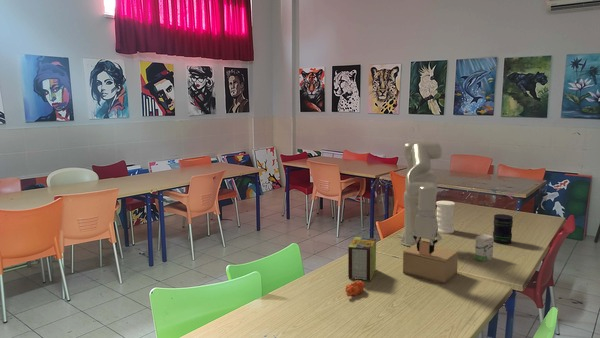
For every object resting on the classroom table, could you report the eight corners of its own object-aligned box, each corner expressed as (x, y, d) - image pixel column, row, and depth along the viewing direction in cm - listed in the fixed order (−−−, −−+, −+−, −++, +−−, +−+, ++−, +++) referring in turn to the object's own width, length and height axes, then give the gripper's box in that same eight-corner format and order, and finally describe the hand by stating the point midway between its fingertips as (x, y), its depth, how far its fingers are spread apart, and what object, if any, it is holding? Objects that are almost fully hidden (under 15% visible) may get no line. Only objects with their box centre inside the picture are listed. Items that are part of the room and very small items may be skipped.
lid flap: (403, 252, 207) (403, 238, 206) (417, 244, 220) (418, 230, 219) (445, 262, 195) (445, 247, 194) (458, 252, 207) (458, 238, 206)
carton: (402, 273, 209) (403, 253, 207) (417, 263, 221) (417, 244, 220) (444, 284, 196) (445, 262, 195) (457, 272, 209) (458, 252, 207)
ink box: (482, 261, 222) (484, 239, 221) (474, 258, 227) (475, 236, 225) (493, 258, 227) (494, 236, 225) (484, 255, 231) (485, 233, 229)
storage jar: (492, 243, 250) (494, 217, 248) (492, 238, 259) (493, 213, 257) (512, 245, 247) (513, 219, 244) (510, 240, 256) (512, 215, 253)
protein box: (375, 269, 214) (376, 238, 212) (370, 281, 200) (370, 248, 198) (354, 266, 218) (355, 236, 215) (347, 278, 203) (347, 246, 201)
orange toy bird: (351, 286, 181) (366, 277, 190) (336, 287, 186) (352, 278, 195) (354, 298, 181) (369, 289, 190) (340, 299, 186) (355, 290, 195)
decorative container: (456, 229, 277) (457, 201, 274) (451, 234, 267) (452, 205, 264) (437, 227, 283) (438, 199, 280) (432, 231, 273) (433, 203, 270)
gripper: (405, 211, 202) (404, 250, 204) (441, 217, 191) (440, 257, 194) (412, 208, 207) (411, 245, 210) (448, 214, 197) (446, 253, 199)
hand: (425, 251), depth 202 cm, fingers closed on lid flap, 5 cm apart
